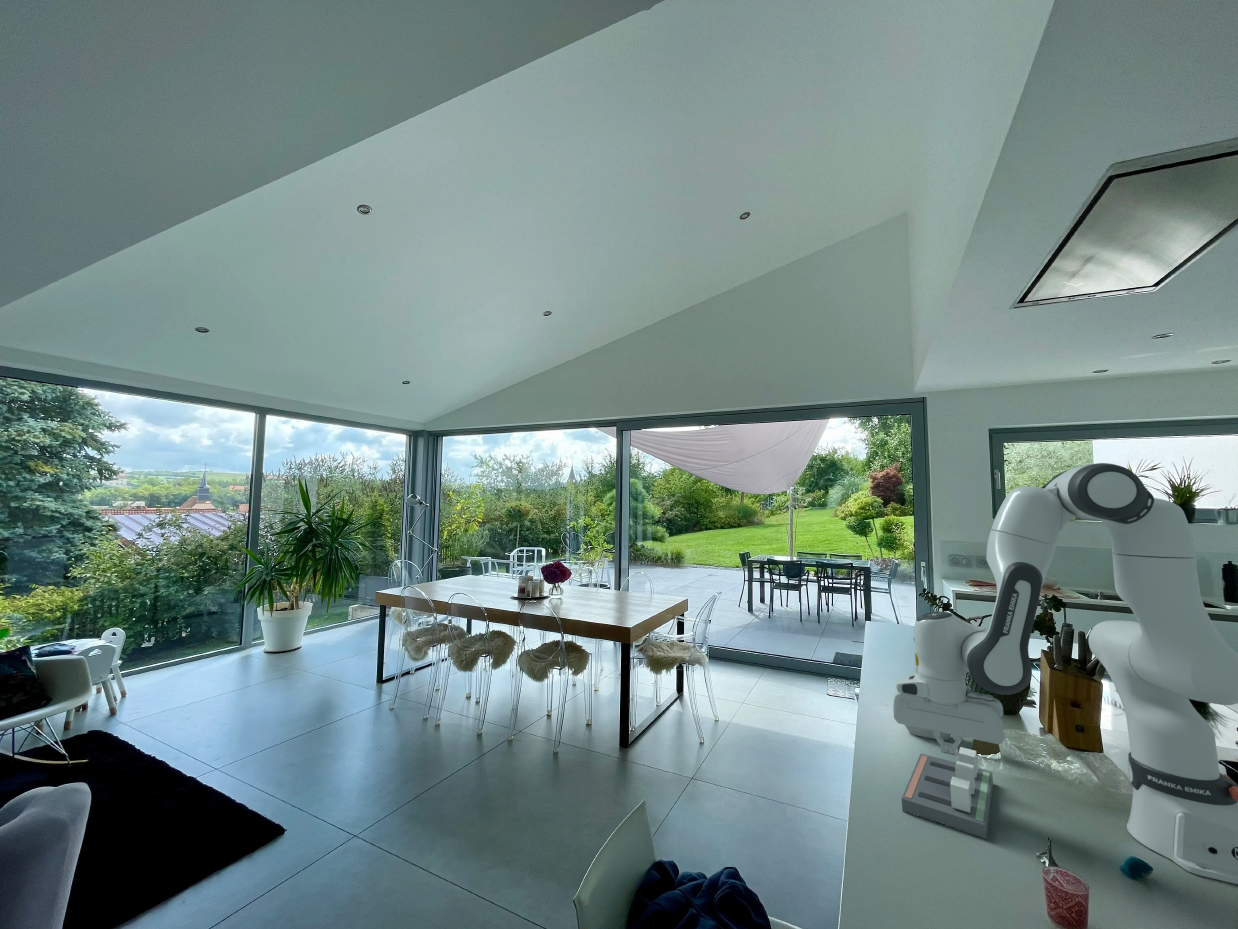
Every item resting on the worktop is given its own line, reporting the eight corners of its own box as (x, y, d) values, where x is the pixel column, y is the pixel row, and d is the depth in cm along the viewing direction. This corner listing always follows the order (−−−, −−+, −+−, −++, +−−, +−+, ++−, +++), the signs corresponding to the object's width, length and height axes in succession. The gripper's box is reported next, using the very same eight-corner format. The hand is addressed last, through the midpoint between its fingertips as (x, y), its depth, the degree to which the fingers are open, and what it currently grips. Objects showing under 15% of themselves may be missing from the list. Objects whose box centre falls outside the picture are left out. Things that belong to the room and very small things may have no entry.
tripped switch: (975, 787, 105) (973, 765, 105) (973, 794, 102) (972, 772, 103) (958, 782, 107) (956, 761, 107) (956, 789, 104) (955, 767, 105)
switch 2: (971, 804, 99) (969, 781, 99) (970, 813, 96) (968, 789, 97) (953, 799, 101) (952, 776, 101) (951, 807, 98) (950, 784, 99)
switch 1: (977, 771, 111) (976, 750, 112) (976, 778, 108) (974, 757, 109) (961, 767, 113) (960, 747, 114) (960, 773, 110) (958, 753, 111)
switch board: (993, 783, 111) (992, 771, 111) (986, 839, 93) (985, 824, 93) (921, 764, 120) (920, 753, 120) (902, 811, 102) (901, 797, 102)
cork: (1007, 760, 121) (1003, 714, 122) (979, 758, 122) (975, 712, 123) (993, 749, 127) (990, 704, 128) (967, 747, 128) (964, 703, 129)
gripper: (1002, 692, 104) (1010, 760, 103) (894, 675, 117) (900, 736, 116) (1000, 702, 99) (1009, 774, 98) (888, 683, 112) (894, 746, 111)
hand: (949, 753), depth 107 cm, fingers closed
